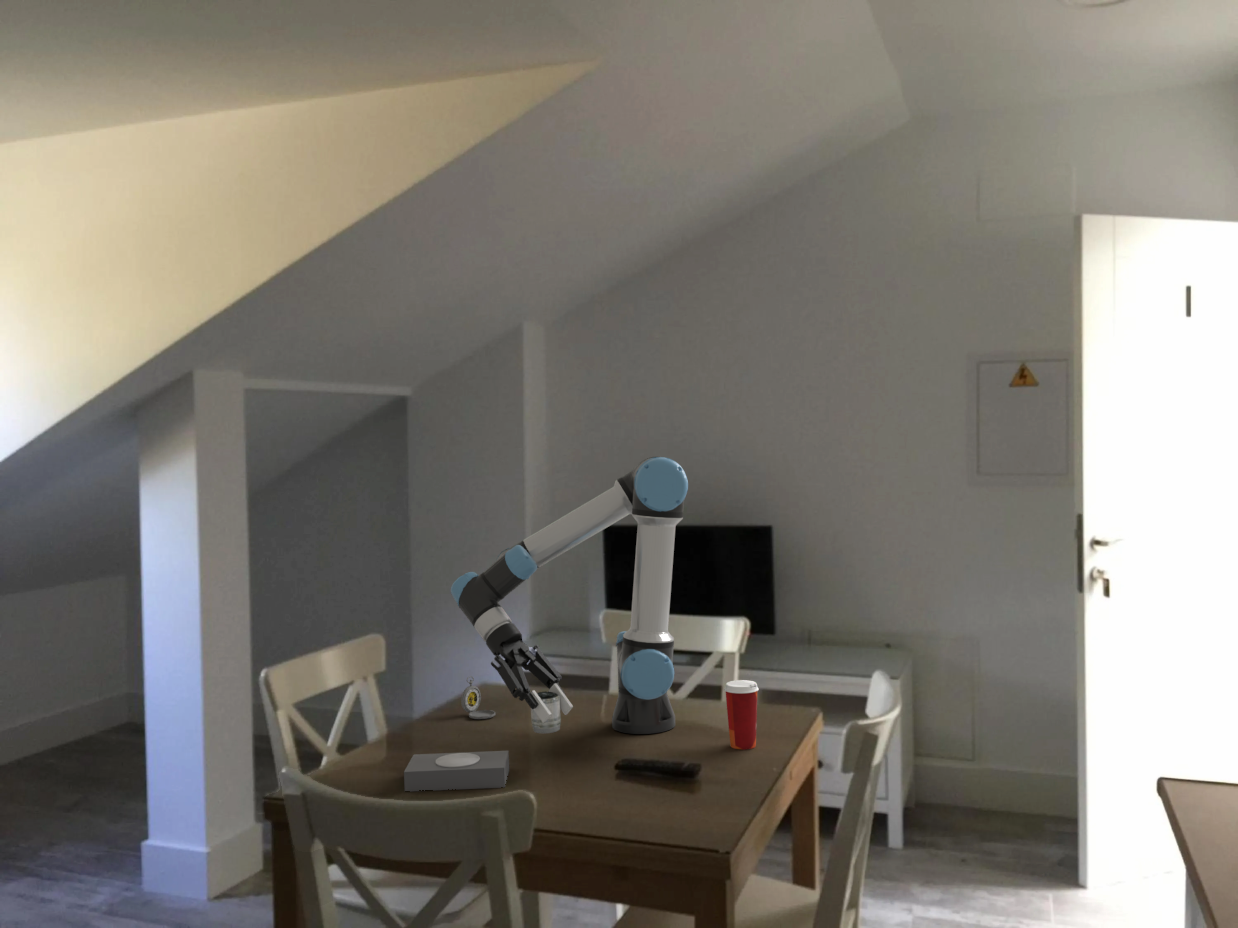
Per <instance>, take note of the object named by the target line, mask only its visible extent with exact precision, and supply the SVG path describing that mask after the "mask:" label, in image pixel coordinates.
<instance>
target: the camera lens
mask: <svg viewBox="0 0 1238 928" xmlns="http://www.w3.org/2000/svg"><path fill="white" fill-rule="evenodd" d="M536 693H537V694H538V696H539V697H540V698H541V700H542V701H543V703H544V704H545V705H546V707H547V708H548V710H549V711H550V712H551V716H550V717H549V718H548V719H547V721H546V722H544V723H543V722H542V721H541V719H540V718H539V716H538V715H537V714H536V712H535V711H534V709H532V708H530V719H531V726H532V729H533V732H534V733H536V734H552V733H555V732H558V731H560V730H561V723H562V718H561V709H560V697H559V695H558V694H556V693H553V692H548V691H539V692H536Z"/></svg>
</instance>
